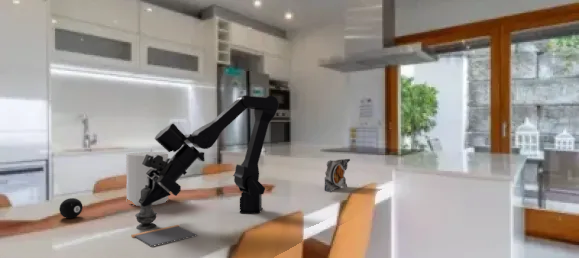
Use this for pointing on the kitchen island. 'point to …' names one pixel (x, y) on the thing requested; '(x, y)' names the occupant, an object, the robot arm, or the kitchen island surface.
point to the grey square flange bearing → (335, 174)
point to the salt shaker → (146, 212)
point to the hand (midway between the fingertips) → (141, 204)
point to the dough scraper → (163, 235)
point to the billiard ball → (71, 208)
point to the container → (139, 175)
